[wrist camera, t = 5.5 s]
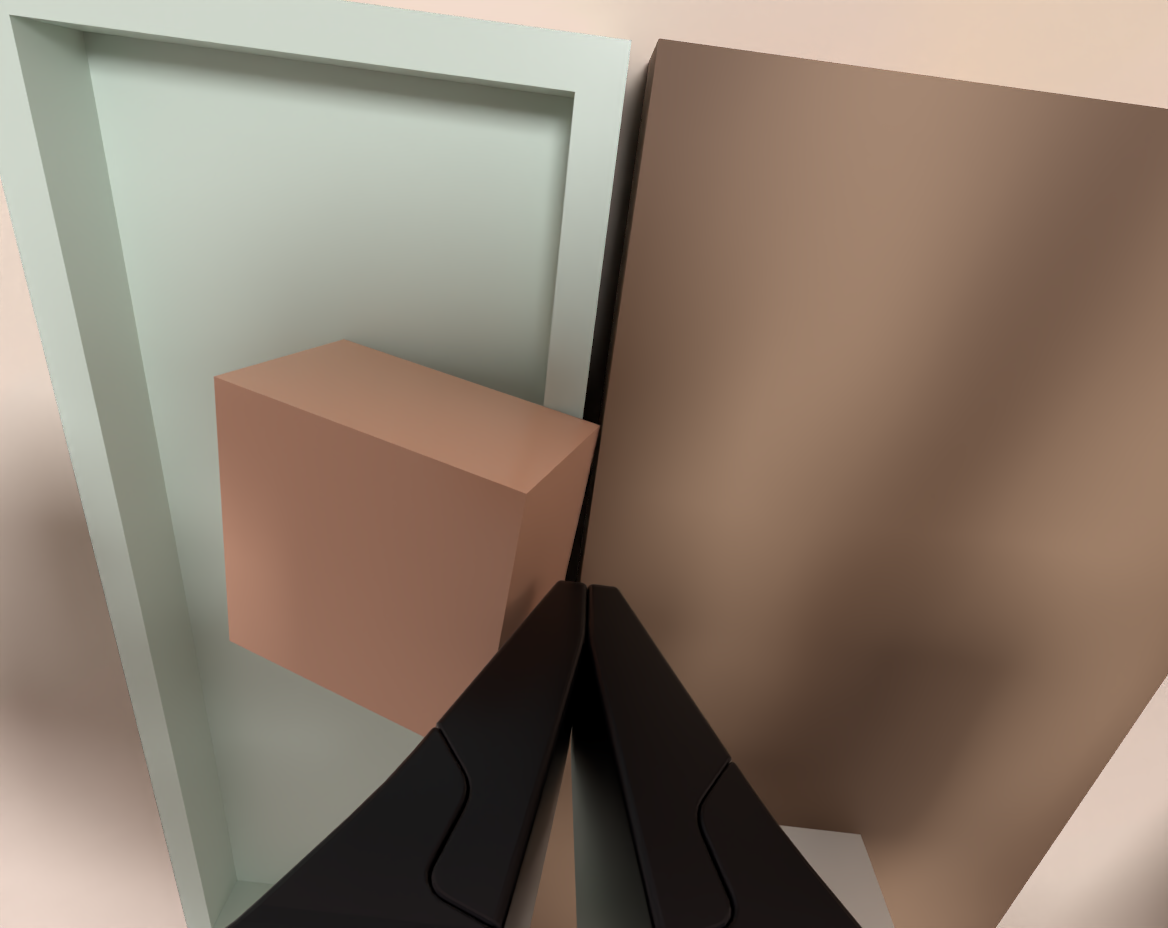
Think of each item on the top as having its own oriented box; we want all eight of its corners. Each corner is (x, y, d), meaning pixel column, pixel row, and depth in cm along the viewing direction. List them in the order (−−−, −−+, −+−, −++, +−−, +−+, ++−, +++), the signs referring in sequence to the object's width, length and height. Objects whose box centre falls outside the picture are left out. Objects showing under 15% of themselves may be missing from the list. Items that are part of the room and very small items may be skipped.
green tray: (628, 57, 9) (631, 40, 8) (518, 908, 18) (510, 976, 16) (50, -22, 9) (-57, -55, 7) (225, 876, 18) (190, 941, 16)
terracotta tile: (600, 425, 9) (526, 494, 7) (547, 655, 11) (476, 762, 9) (344, 339, 11) (214, 376, 8) (336, 563, 13) (228, 641, 10)
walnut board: (1342, 155, 9) (1518, 157, 8) (888, 950, 18) (920, 1039, 16) (649, 60, 9) (658, 39, 7) (529, 910, 18) (520, 995, 16)
